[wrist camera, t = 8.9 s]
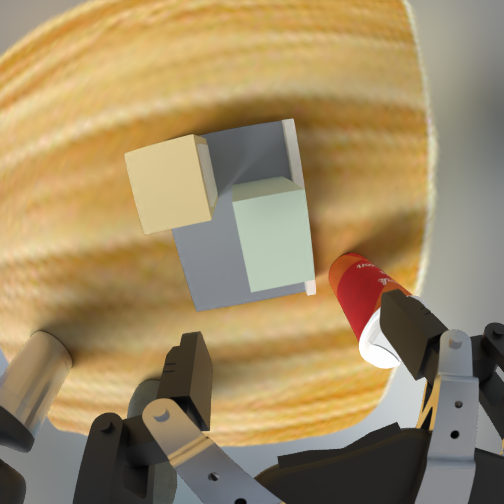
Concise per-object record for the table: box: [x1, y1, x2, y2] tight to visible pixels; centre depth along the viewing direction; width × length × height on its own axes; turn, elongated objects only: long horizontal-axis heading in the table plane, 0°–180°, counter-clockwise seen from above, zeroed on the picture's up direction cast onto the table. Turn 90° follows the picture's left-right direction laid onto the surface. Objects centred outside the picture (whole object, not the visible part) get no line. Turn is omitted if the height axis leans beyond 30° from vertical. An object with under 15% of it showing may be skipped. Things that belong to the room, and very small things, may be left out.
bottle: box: [127, 380, 177, 504], centre depth 26 cm, size 9×9×30 cm
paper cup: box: [329, 253, 429, 368], centre depth 27 cm, size 8×8×14 cm
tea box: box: [232, 176, 315, 292], centre depth 24 cm, size 5×7×9 cm
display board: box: [172, 119, 316, 311], centre depth 29 cm, size 14×19×3 cm
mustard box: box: [124, 134, 218, 235], centre depth 22 cm, size 5×6×9 cm
